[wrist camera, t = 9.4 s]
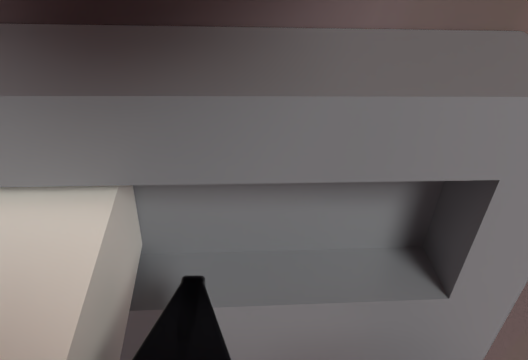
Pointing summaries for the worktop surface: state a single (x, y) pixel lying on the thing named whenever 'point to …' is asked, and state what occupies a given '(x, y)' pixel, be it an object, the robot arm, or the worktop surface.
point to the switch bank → (293, 175)
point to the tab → (66, 271)
